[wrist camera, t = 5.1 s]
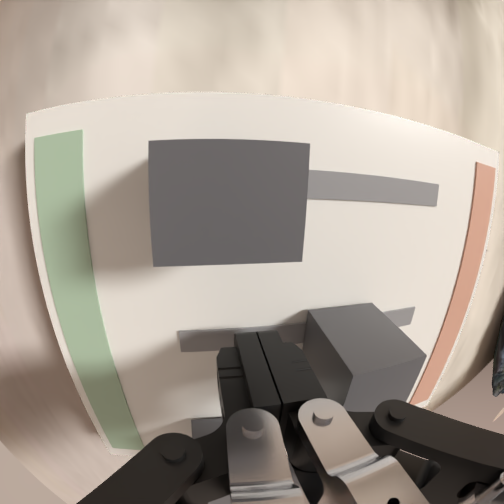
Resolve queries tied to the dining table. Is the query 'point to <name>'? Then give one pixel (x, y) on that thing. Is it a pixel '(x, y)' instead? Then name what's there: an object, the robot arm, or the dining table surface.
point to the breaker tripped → (360, 356)
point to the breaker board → (244, 275)
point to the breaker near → (227, 201)
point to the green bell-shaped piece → (499, 364)
